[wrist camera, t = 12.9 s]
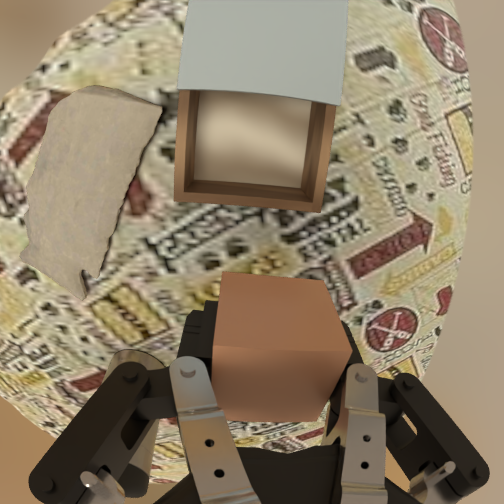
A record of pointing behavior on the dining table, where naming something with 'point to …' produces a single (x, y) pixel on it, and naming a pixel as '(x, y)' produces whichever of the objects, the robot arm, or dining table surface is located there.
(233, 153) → the brown wooden box
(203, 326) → the robot arm
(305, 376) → the cube
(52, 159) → the stone tool
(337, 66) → the lid
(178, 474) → the dining table surface
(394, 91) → the dining table surface
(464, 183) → the dining table surface
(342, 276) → the dining table surface
